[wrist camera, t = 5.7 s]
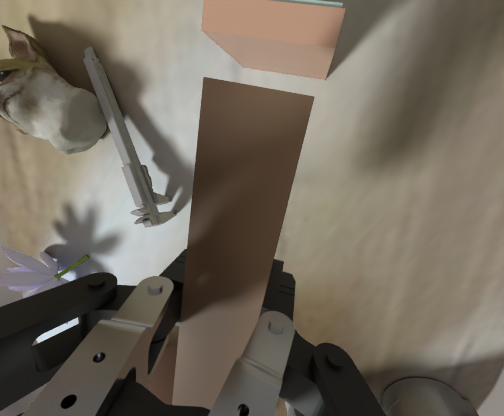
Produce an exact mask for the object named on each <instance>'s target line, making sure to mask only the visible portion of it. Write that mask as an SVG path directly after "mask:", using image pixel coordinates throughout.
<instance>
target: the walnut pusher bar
mask: <svg viewBox="0 0 504 416" xmlns="http://www.w3.org/2000/svg"><path fill="white" fill-rule="evenodd" d="M313 101H314V97H313V96H308V95H302V94H296V93H291V92H285V91H280V90H274V89H268V88H263V87H257V86H252V85H246V84H240V83H235V82H229V81H224V80H218V79H212V78H207V77H204V79H203V89H202V99H201V110H200V120H199V131H198V141H197V151H196V162H195V172H194V183H193V193H192V203H191V214H190V224H189V235H188V245H187V255H186V266H185V276H184V287H183V297H182V307H181V318H180V328H179V338H178V349H177V360H176V370H175V380H174V392H173V401H172V405H179V406H196V407H204V408H207V409H209V410H211V409H212V407H213V405H214V403H215V401H216V399H217V397H218V395H219V393H220V391H221V389H222V387H223V385H224V383H225V381H226V379H227V377H228V375H229V373H230V371H231V369H232V367H233V365H234V363H235V361H236V359H237V358H238V357H239V358H240V357H241V355H242V353H243V351H244V349H245V347H246V345H247V343H248V341H249V339H250V337H251V335H252V333H253V330H254V328H255V326H256V324H257V322H258V320H259V316H260V312H261V308H262V304H263V300H264V296H265V292H266V288H267V284H268V280H269V276H270V272H271V268H272V264H273V260H274V256H275V252H276V248H277V244H278V240H279V236H280V232H281V228H282V224H283V220H284V216H285V212H286V208H287V204H288V200H289V196H290V192H291V188H292V184H293V180H294V176H295V172H296V168H297V164H298V160H299V156H300V152H301V148H302V144H303V140H304V137H305V133H306V129H307V125H308V121H309V117H310V113H311V109H312V105H313Z"/></svg>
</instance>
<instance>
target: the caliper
mask: <svg viewBox="0 0 504 416" xmlns="http://www.w3.org/2000/svg"><path fill="white" fill-rule="evenodd" d="M84 54H85V58H84V59H83V61H84V64H85V66H86V69H87V71H88V74H89V77H90V79H91V82H92V84H93V87H94V90H95V92H96V95H97V98H98V100H99V103H100V105H101V108H102V110H103V113H104V116H105V118H106V121H107V123H108V126H109V129H110V131H111V134H112V136H113V139H114V141H115V144H116V147H117V149H118V152H119V154H120V157H121V160H122V162H123V165H124V167H122V170H123V173H124V176H125V178H126V181H127V184H128V186H129V189H130V192H131V194H132V197H133V200H134V202H135V205H136V207H140V209H137V210H135V211H132V212H131V214H133V215H136V216H143V217H141V218H139V219H138V220H136V222H135V224H139V223H143V224H144V226H145V227H151V226H157V225H160V224H163V223H165V222H167V221H168V220H170V219H171V218H173V217H174V216H176V215H177V211H170V212H161V213H159V212H158V209H157V206H156V205H162V204H166V203H168V202H171V199H170V197H167V196H164V195H160V194H157V193H154V192H153V189H152V182H151V177H150V176H149V174H148V170H147V167H146V166H145V165H141V164H140V161H139V158H138V156H137V153H136V151H135V148H134V146H133V143H132V140H131V138H130V135H129V133H128V130H127V127H126V125H125V122H124V120H123V117H122V114H121V112H120V109H119V106H118V104H117V101H116V98H115V96H114V93H113V91H112V88H111V85H110V83H109V80H108V77H107V75H106V72H105V70H104V68H103V66H102V64H101V62H100V60H99V59H98V58H97V57H96V55H95V52H94V49H93V47H92V46H91V45H90V46H89V47H88V48H86V49H85V50H84Z"/></svg>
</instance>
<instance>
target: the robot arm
mask: <svg viewBox="0 0 504 416" xmlns="http://www.w3.org/2000/svg"><path fill="white" fill-rule="evenodd" d="M186 255H187V249H185V250H184V251H183V252H182V253H181V254H180V255H179V256H178V257H177V258H176V259H175V260H174V261H173V262H172V263H171V264H170V265H169V266H168V267H167V268H166V269H165V270H164V271H163V272H162V273H161V274H160V275H159V276H153V277H149V278H146V279H144V280H142V281H141V282H140V283H139V284H138V285H137V286H128V285H117V278H116V277H115V276H114V275H113V274H110V273H105V272H100V273H93V274H90V275H87V276H84V277H82V278H79V279H76V280H73V281H71V282H68V283H65V284H62V285H60V286H57V287H54V288H51V289H49V290H46V291H43V292H40V293H38V294H35V295H32V296H29V297H27V298H24V299H21V300H19V301H16V302H13V303H10V304H7V305H5V306H2V307H0V411H1V410H3V409H4V408H6V407H8V406H9V405H11V404H12V403H14V402H16V401H18V400H19V399H21V398H23V397H24V396H26V395H28V394H29V393H31V392H33V391H34V390H36V389H37V388H39V387H41V386H43V385H44V384H46V383H48V384H47V385H46V386H45V387H44V389H43V390H42V391H41V392H40V394H39V395H38V396H37V397H36V398H35V400H34V401H33V402H32V403H31V405H30V406H29V407H28V408H27V409H26V411H25V412H23V413H21V414H19V415H17V416H273V415H274V412H275V408H276V404H277V400H278V397H279V396H280V397H281V398H282V399H283V400H285V401H286V402H287V403H289V404H290V405H291V406H293V407H294V411H295V415H296V416H479V415H478V414H477V412H476V410H475V408H474V407H473V405H472V403H471V402H470V401H468V400H465V399H463V398H461V397H460V396H459V395H458V393H457V392H456V391H455V390H453V389H452V388H451V387H449V386H448V385H446V384H444V383H442V382H439V381H436V380H432V379H427V378H408V379H404V380H400V381H397V382H395V383H393V384H392V385H391V386H389V387H388V388H387V389H386V391H385V392H384V395H383V406H384V409H385V413H386V415H385V413H384V411H383V410H382V408H381V406H380V405H379V403H378V401H377V400H376V398H375V397H374V395H373V393H372V392H371V390H370V388H369V387H368V385H367V383H366V382H365V380H364V379H363V377H362V375H361V374H360V372H359V370H358V369H357V367H356V365H355V364H354V362H353V361H352V359H351V358H350V356H349V355H348V354H347V353H346V352H345V351H344V350H343V349H341V348H340V347H338V346H336V345H334V344H331V343H321V344H319V345H317V346H314V345H312V344H311V343H309V342H307V341H306V340H305V339H303V338H302V337H301V336H300V335H299V334H298V333H297V331H296V330H295V327H294V324H293V310H294V295H295V280H294V278H293V275H292V274H290V273H286V272H283V271H282V270H283V264H284V261H280V260H276V259H274V260H273V264H272V268H271V272H270V276H269V280H268V284H267V288H266V292H265V296H264V300H263V304H262V308H261V312H260V316H259V320H258V322H257V324H256V326H255V328H254V330H253V333H252V335H251V337H250V339H249V341H248V343H247V345H246V347H245V349H244V351H243V353H242V355H241V357H240V358H239V357H238V358H237V359H236V361H235V363H234V365H233V367H232V369H231V371H230V373H229V375H228V377H227V379H226V381H225V383H224V385H223V387H222V389H221V391H220V393H219V395H218V397H217V399H216V401H215V403H214V405H213V407H212V409H211V410H209V409H207V408H204V407H196V406H179V405H167V404H165V403H163V402H162V401H160V400H159V399H158V398H157V397H156V396H155V395H153V394H152V393H151V392H150V391H149V390H148V387H149V384H150V382H151V379H152V377H153V374H154V372H155V370H156V368H157V365H158V363H159V361H160V358H161V356H162V354H163V352H164V349H165V347H166V345H167V342H168V340H169V337H170V332H171V330H172V328H173V327H174V325H177V326H180V318H181V307H182V297H183V287H184V276H185V266H186ZM77 317H78V321H79V324H77V325H75V326H73V327H71V328H69V329H67V330H65V331H63V332H61V333H59V334H57V335H55V336H53V337H51V338H49V339H46V340H44V341H42V342H40V343H38V344H36V345H33V346H32V344H33V342H34V341H35V340H36V339H37V338H38V337H39V336H40V335H42V334H43V333H45V332H47V331H50V330H52V329H54V328H56V327H58V326H60V325H62V324H64V323H67V322H69V321H71V320H73V319H75V318H77Z"/></svg>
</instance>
